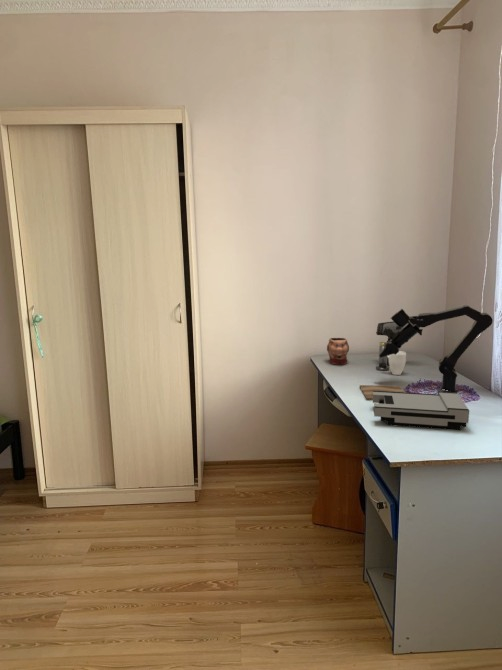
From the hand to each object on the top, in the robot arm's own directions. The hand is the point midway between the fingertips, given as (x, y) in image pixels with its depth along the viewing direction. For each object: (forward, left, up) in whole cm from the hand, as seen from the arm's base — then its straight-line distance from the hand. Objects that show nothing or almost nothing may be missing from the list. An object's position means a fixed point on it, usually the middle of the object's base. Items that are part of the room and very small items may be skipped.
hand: (380, 355), depth 220 cm
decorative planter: (+40, +15, -14) cm, 45 cm away
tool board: (-17, +2, -13) cm, 22 cm away
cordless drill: (+36, -17, -14) cm, 42 cm away
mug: (+17, -10, -14) cm, 24 cm away
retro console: (-46, -5, -14) cm, 48 cm away
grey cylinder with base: (0, -1, -7) cm, 7 cm away
